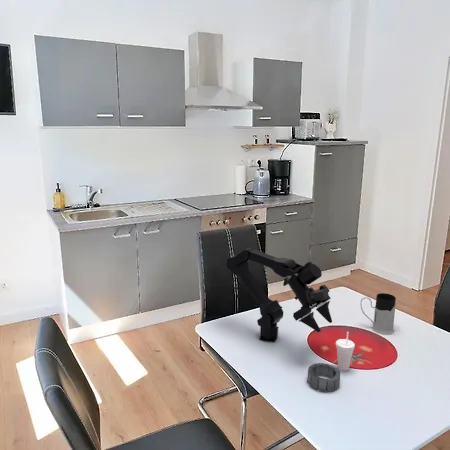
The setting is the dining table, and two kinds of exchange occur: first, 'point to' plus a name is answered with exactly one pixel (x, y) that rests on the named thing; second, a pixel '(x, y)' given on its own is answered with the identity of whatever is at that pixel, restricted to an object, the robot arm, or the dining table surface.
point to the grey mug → (383, 313)
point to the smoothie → (344, 353)
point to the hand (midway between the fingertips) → (325, 327)
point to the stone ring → (323, 383)
